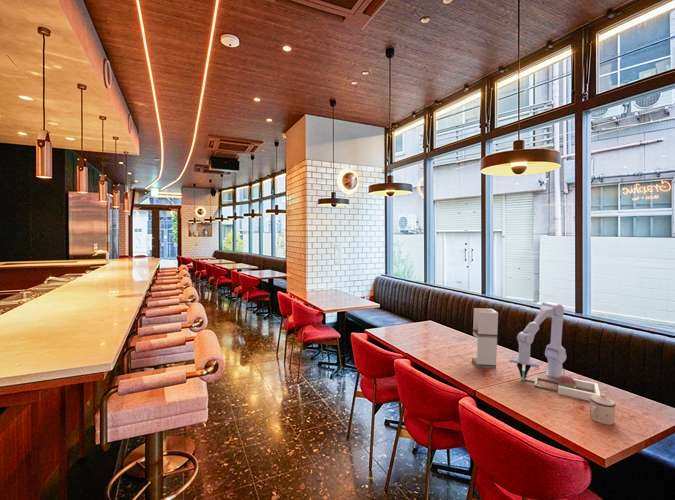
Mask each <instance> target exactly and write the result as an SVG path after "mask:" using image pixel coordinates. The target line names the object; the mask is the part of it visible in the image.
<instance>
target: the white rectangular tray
mask: <svg viewBox="0 0 675 500" xmlns="http://www.w3.org/2000/svg"><path fill="white" fill-rule="evenodd" d="M573 379H574V380H575V381H576V385H575V387H576V388H579V389H572V388H567V387H563V386H560V385H558V387H557V389H558V392H557V394H559V395H563V396H566V397H570V398H575V399H580V400H585V401H589V402H591V400H590V398H591V396H594V395H597V396H598V395H600V394H601V392H600V388H599V384H598V383H597V382H591V381H586V380H581V379H577V378H573ZM581 389H583V390H581ZM585 390H589V391H585ZM590 391H593V392H590Z"/></svg>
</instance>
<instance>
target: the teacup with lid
mask: <svg viewBox="0 0 675 500" xmlns="http://www.w3.org/2000/svg"><path fill="white" fill-rule="evenodd" d="M590 400H591V401H590V404H589V408H590V409H589V417H590V419H591V420H592V421H595V422H596V423H599V424H602V425H609V426H611V425H613V424H614V423H615V415H616V414H615V413H616V406H617V404H616V402H615V401H614V400H613V399H611V398H609V397H608V396H607V395H606V394H604V393H600V395H598V396H597V395H594V396H591V398H590Z"/></svg>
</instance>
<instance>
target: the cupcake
mask: <svg viewBox="0 0 675 500" xmlns="http://www.w3.org/2000/svg"><path fill="white" fill-rule="evenodd" d="M562 373H563V376H559V377H557V378H556V381H557V382H558V383H559V384H558V386H563V387H567V388H573V386H575V385H576V381H575V380H574V379H575V378H572V377H571V376H569V375H566V374H565V368H564V367H562Z"/></svg>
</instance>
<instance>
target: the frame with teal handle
mask: <svg viewBox="0 0 675 500" xmlns="http://www.w3.org/2000/svg"><path fill="white" fill-rule="evenodd" d="M521 381H522V382H525V381H526V382H530V383H534V387H535V388H538V389H544V390H547V391H551V392H557V393H558V388H554V387H553V388H552V387H549V386H544V385H540V384H538V381H544V382H548V383H552V384H558V385H559V383H558V382H557V380H552V379H548V378H543V377H538V376H535V380H534V379H533V380H532V379H529V378H525V367H522V377H521ZM576 388H577V387H575V386H573V388H572V389H576ZM576 390H577V389H576Z"/></svg>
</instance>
